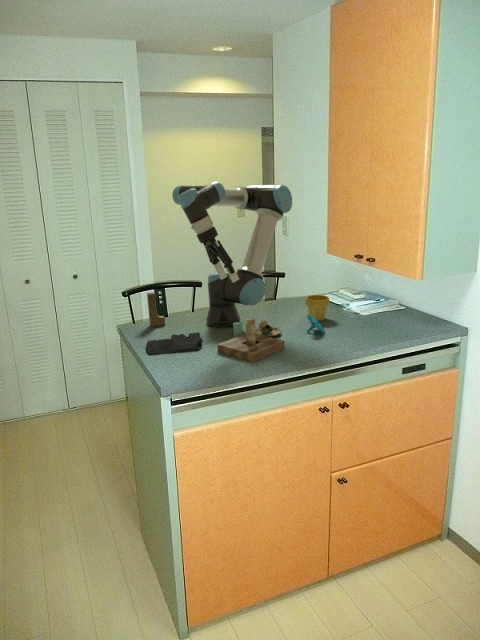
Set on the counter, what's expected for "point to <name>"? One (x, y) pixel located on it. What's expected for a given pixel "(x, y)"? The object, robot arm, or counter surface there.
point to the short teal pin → (238, 329)
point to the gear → (314, 324)
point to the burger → (267, 330)
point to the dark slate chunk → (175, 344)
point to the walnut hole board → (251, 347)
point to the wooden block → (154, 311)
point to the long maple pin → (250, 332)
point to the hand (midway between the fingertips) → (230, 279)
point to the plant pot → (317, 306)
